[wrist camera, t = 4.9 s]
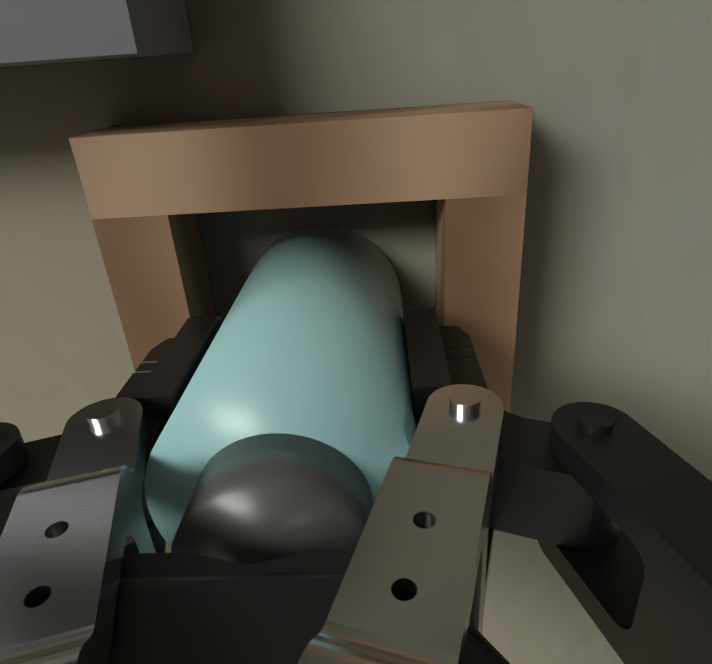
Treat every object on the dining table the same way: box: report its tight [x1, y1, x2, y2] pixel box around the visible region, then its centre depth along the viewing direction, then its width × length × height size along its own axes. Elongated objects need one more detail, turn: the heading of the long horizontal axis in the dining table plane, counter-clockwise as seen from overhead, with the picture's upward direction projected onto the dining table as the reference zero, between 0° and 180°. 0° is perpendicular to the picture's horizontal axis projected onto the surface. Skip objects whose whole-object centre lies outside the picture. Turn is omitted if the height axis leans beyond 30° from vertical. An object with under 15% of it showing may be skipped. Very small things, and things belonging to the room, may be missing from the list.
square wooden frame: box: [69, 101, 533, 413], centre depth 15 cm, size 10×10×2 cm
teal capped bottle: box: [144, 226, 417, 564], centre depth 12 cm, size 4×4×9 cm
